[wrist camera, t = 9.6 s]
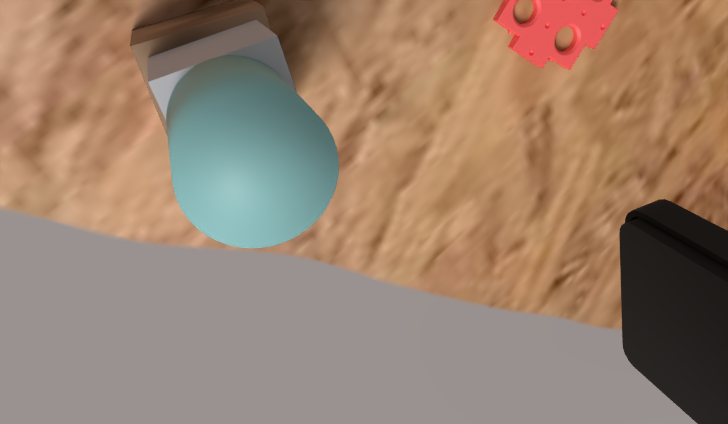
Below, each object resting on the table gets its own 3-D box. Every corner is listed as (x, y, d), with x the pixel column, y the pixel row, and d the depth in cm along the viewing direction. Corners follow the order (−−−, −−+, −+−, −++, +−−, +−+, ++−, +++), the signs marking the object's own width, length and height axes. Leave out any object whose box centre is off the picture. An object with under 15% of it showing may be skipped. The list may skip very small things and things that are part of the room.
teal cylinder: (276, 38, 23) (315, 69, 18) (311, 158, 25) (354, 216, 20) (144, 78, 22) (144, 122, 17) (193, 198, 24) (206, 270, 19)
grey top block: (255, 19, 27) (277, 35, 23) (292, 121, 29) (317, 153, 25) (147, 58, 26) (147, 81, 22) (193, 159, 29) (202, 199, 24)
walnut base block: (247, -4, 31) (264, 6, 27) (281, 105, 34) (301, 130, 30) (131, 29, 30) (129, 46, 26) (176, 139, 33) (181, 170, 29)
